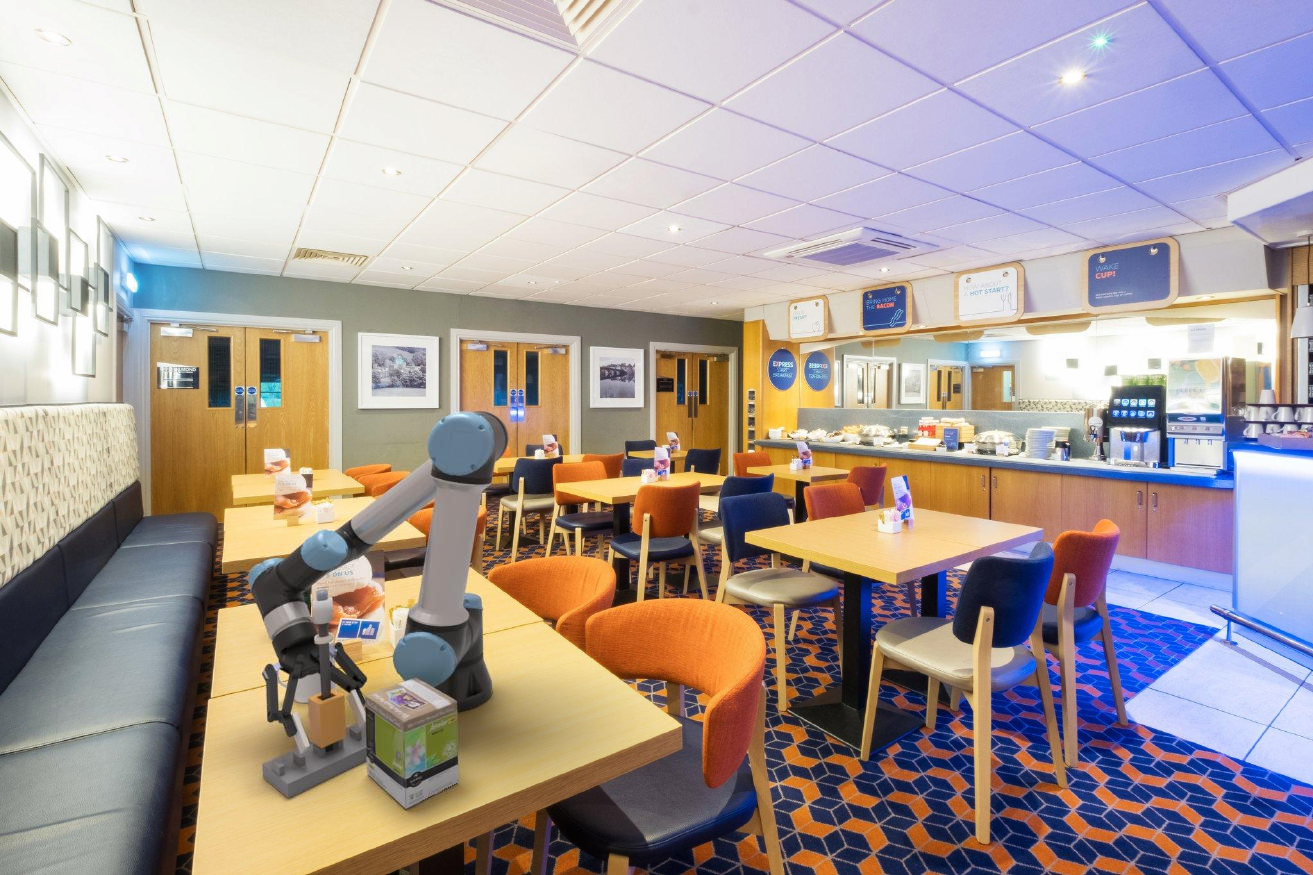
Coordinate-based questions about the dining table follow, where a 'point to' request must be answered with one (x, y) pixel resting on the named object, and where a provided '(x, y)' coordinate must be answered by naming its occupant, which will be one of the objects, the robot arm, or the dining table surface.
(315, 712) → the marker sleeve
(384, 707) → the tea box
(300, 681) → the mug
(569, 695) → the dining table surface
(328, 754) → the rod stand with pegs
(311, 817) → the dining table surface
